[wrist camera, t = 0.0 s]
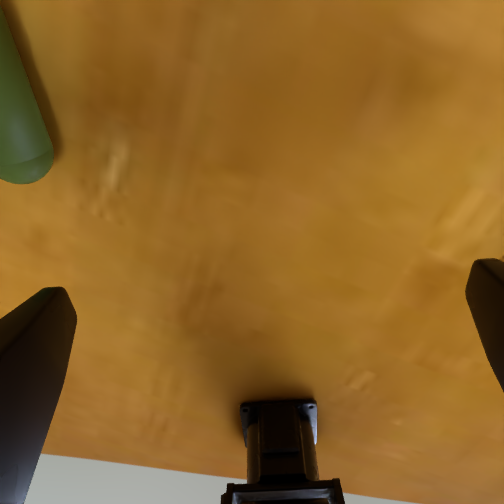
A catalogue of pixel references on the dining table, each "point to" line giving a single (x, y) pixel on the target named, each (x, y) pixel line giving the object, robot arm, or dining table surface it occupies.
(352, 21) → the dining table surface
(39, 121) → the pickle
